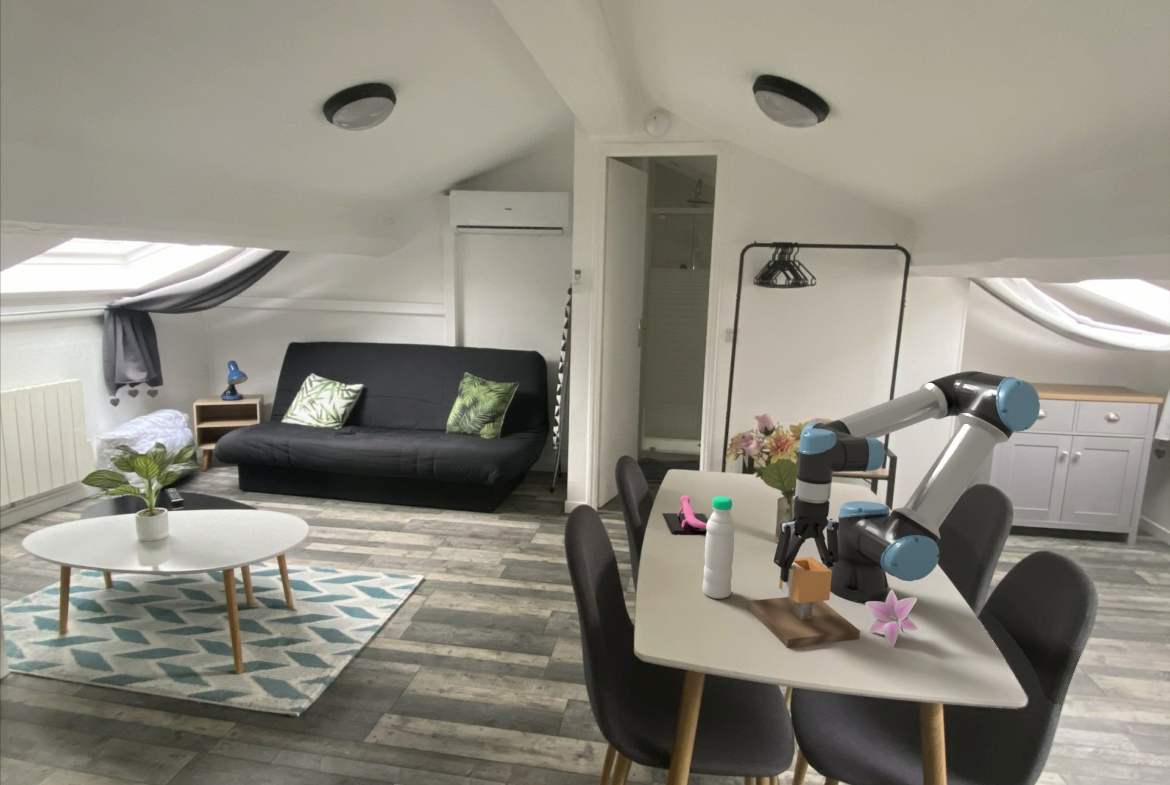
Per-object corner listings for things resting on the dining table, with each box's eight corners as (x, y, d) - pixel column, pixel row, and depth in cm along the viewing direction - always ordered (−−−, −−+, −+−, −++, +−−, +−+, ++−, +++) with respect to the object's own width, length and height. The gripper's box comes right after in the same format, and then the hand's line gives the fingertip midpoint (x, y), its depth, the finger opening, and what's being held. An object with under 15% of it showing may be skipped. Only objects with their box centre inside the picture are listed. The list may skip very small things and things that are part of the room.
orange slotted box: (829, 600, 156) (832, 569, 155) (797, 603, 154) (800, 572, 153) (809, 584, 164) (812, 555, 163) (779, 587, 162) (781, 558, 161)
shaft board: (813, 601, 172) (817, 556, 170) (859, 638, 154) (864, 588, 152) (747, 608, 167) (751, 561, 165) (787, 647, 150) (791, 595, 148)
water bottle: (709, 601, 170) (715, 504, 166) (697, 588, 177) (703, 494, 173) (735, 598, 172) (742, 502, 168) (722, 586, 179) (728, 493, 175)
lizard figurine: (703, 514, 234) (705, 493, 232) (718, 537, 214) (719, 514, 213) (661, 514, 233) (662, 493, 232) (671, 537, 213) (672, 514, 212)
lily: (861, 622, 164) (854, 594, 160) (910, 606, 163) (904, 578, 159) (883, 663, 154) (876, 634, 149) (936, 647, 152) (930, 618, 148)
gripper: (842, 490, 162) (833, 581, 166) (762, 494, 156) (754, 589, 160) (862, 500, 155) (852, 596, 158) (779, 505, 149) (770, 604, 153)
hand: (803, 592), depth 159 cm, fingers closed on orange slotted box, 8 cm apart
